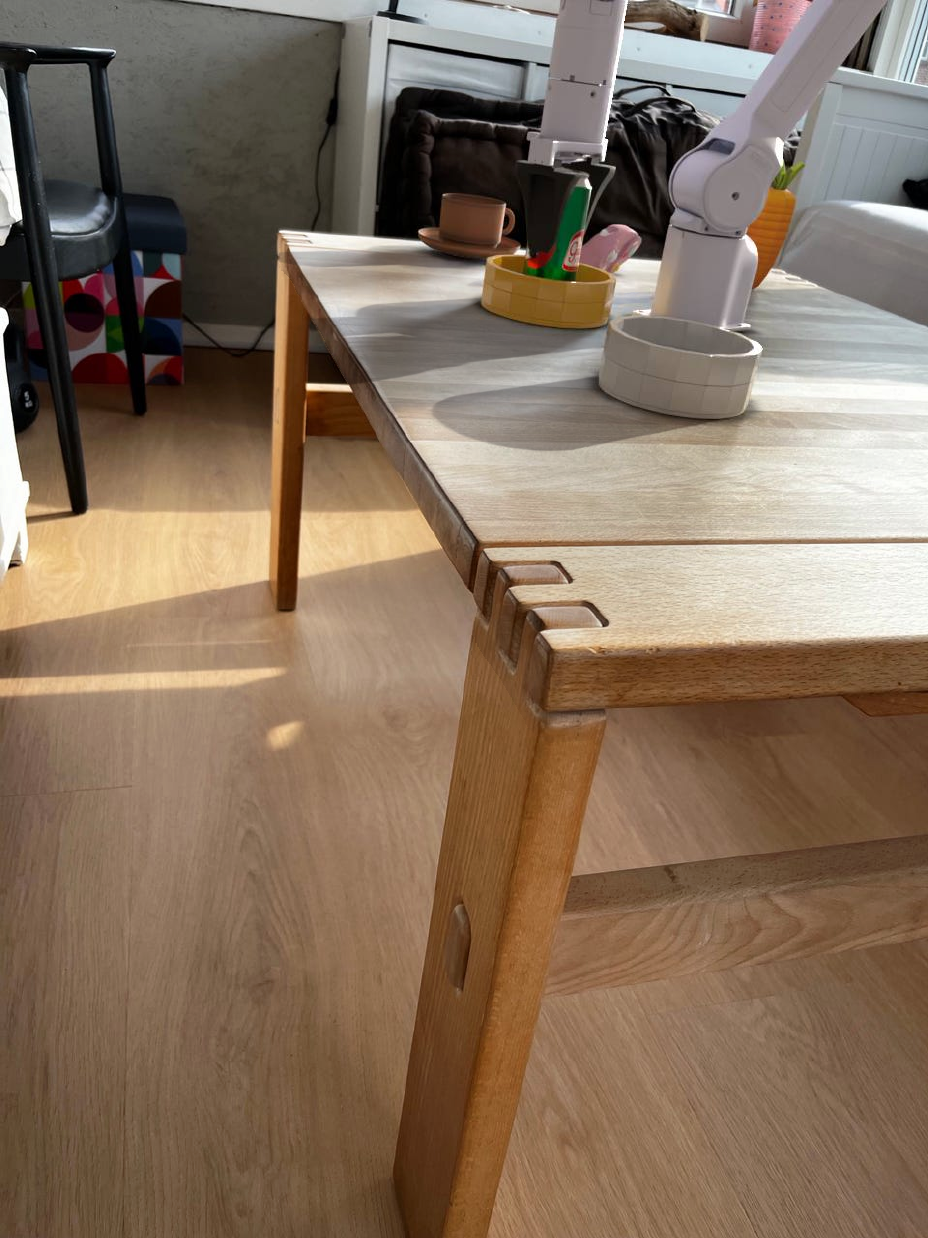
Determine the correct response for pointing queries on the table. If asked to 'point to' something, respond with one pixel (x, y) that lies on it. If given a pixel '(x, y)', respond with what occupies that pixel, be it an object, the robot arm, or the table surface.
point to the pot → (678, 366)
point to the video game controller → (610, 248)
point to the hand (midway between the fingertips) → (554, 246)
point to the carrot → (773, 222)
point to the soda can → (564, 239)
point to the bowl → (547, 295)
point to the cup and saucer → (471, 228)
